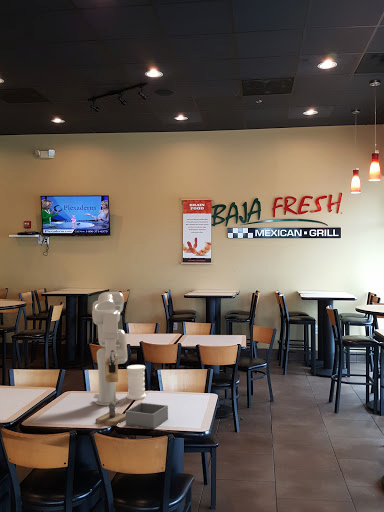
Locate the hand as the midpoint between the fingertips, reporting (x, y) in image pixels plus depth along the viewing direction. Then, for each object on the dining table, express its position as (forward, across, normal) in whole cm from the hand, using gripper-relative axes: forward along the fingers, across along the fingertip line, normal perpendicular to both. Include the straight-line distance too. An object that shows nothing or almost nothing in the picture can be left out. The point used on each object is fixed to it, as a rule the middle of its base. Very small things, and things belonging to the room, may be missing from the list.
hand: (111, 370), depth 250 cm
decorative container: (+26, -38, +19) cm, 50 cm away
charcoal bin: (+25, +9, +16) cm, 31 cm away
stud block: (+25, 0, 0) cm, 25 cm away
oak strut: (+5, 0, 0) cm, 5 cm away
